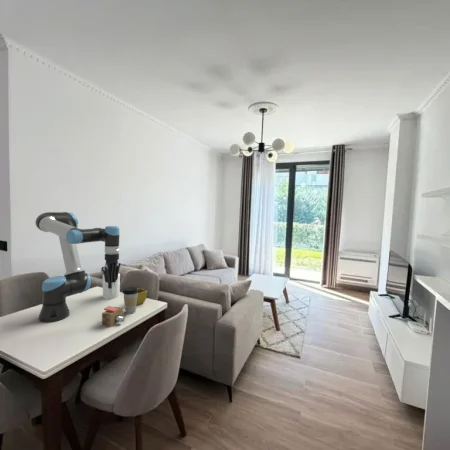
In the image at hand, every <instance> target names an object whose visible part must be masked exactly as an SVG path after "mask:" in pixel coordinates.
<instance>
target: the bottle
mask: <svg viewBox="0 0 450 450" xmlns="http://www.w3.org/2000/svg"><path fill="white" fill-rule="evenodd" d="M120 279H121V274H120V273H119V274H118V279H117V280H116V282H115V287H114V294H109V293H108V290H109V288H108V283H107V282H105V278H104V273H103V274H102V299H104V300H111V299H117V298H119V297H120V293H121V291H120V289H121V287H120V286H121V284H120V283H121V280H120Z"/></svg>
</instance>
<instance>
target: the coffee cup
mask: <svg viewBox="0 0 450 450" xmlns="http://www.w3.org/2000/svg"><path fill="white" fill-rule="evenodd" d="M138 289H139V288H137V287H135V286H130V287H129V286H128V287H125V288H124V289H123V291H122V294H123V300H124V301H123V303H124V307H125V313H126V314H127V315H128V314H129V315H131V314H134V313H136V310H137V305H136V304H137V297H138V296H137V294H138V292H139V291H138Z"/></svg>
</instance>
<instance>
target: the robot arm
mask: <svg viewBox="0 0 450 450" xmlns="http://www.w3.org/2000/svg"><path fill="white" fill-rule="evenodd" d="M78 224H79V220H78V218H77V216H76V214H74V213H73V212H70V211H69V212H66V211H62V212H60V211H59V212H57V211H54V212H52V211H49V212H43V213H41V214H39V215H38V216H37V217H36V219H35V226H36V228H37V229H38V230H40V231H42V232H44V233H52V234H54V235H56V236H57V237H58V240H59V245H60V248H61V250H60V251H61V254H62V258H63V262H64V264H63V265H64V267H65V273H64V275H57V276H51V277H49V278H47V279H45V280H43V282H42V285H41V286H42V287H41V293H42V294H41V299H42V300H41V301H42V303H41V304H42V306H41V309H40V313H39V314H38V321H40V322H42V323H52V322H58V321H60V320H64V319H66V318H68V317H69V315H70V309H69V307H68V304H67V300H66V299H67V298H68V297H70V296H74V295H77V294H81V293H83V292H87V291H88V290H89V289H90V287H91V284H92V279H91V276H90V274H89V273H87V272H86V270H85V269H83V268H82V264H81V260H80V255H79V251H78V247H77V245H78V244H85V243H96V242H104V253H105V254H104V260H105V264H104V266H102V267H101V270H102V271H103V274H104V278H105V282H107V283H108V288H109V290H108V293H109V294H114V287H115V282H116V280H117V279H118V274H120V268H121V266H122V265H121V264H122V263H120V262H119V260H120V253H119V252H120V234H121V232H120V227H119V226H116V225H107V226H105V227H104V228H102V227H94V228H86V229H85V228H78V226H79V225H78Z"/></svg>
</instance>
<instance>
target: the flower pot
mask: <svg viewBox="0 0 450 450" xmlns="http://www.w3.org/2000/svg"><path fill="white" fill-rule="evenodd" d="M137 289H138V291H139V292H138V294H137V296H138V297H137V304H136V306H139V305H143V304H144V303H145V302H146V299H147V295H148V290H147V289H144V288H137Z"/></svg>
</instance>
